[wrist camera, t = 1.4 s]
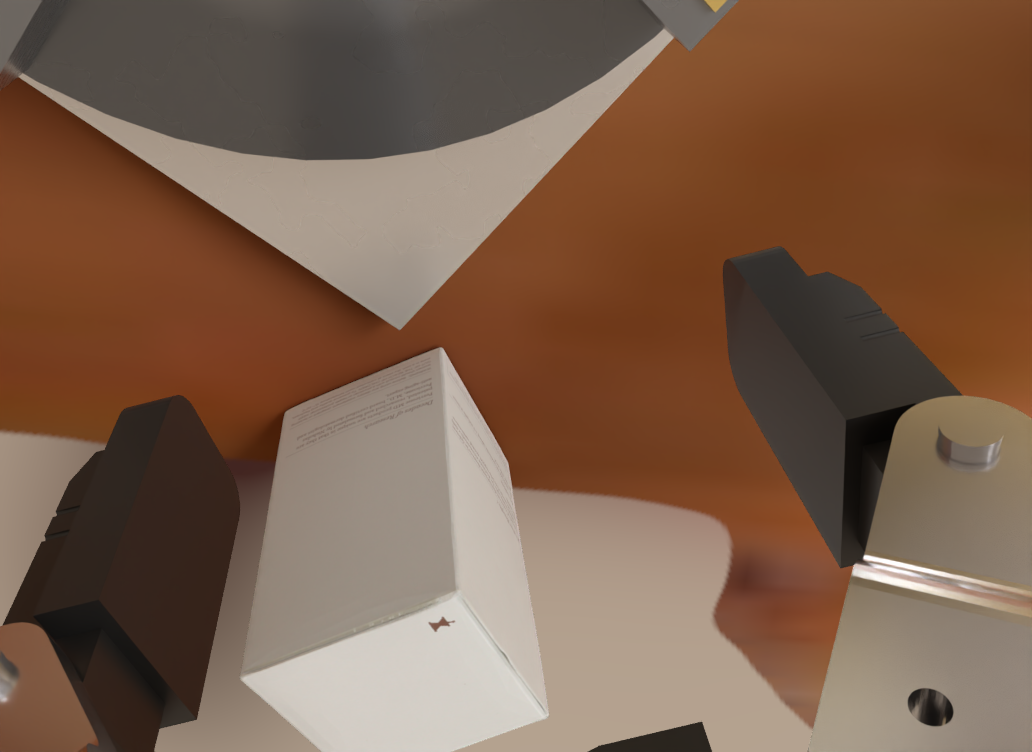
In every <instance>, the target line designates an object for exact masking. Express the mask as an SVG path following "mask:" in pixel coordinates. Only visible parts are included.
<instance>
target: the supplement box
mask: <svg viewBox="0 0 1032 752" xmlns="http://www.w3.org/2000/svg"><path fill="white" fill-rule="evenodd" d="M240 679H241V680H242V682H244V683H245V684H246V685H247V686H248V687H249V688H251V690H253V691H254V692H255V693H256V694H257V695H259V696H260V697H261V698H262V699H263V700H264V701H265V702H266V703H267V704H269V705H270V706H271V707H272V708H274V710H276V711H277V712H278V713H279V714H280V715H281V716H282V717H283V718H284V719H285V720H287V721H288V722H289V723H290V724H291V725H292V726H293V727H294V728H296V729H297V730H298V731H299V732H300V733H301V734H302V735H303V736H304V737H306V738H307V739H308V740H309V741H310V742H311V743H312V744H313V745H314V746H315V747H317V748H318V749H319V750H320V751H321V752H452V751H455V750H458V749H461V748H463V747H466V746H469V745H472V744H475V743H477V742H480V741H483V740H486V739H489V738H491V737H494V736H497V735H500V734H502V733H505V732H508V731H511V730H514V729H516V728H519V727H522V726H525V725H528V724H531V723H534V722H537V721H541V720H544V719H547V718H548V716H549V711H548V703H547V696H546V689H545V683H544V676H543V669H542V662H541V656H540V651H539V645H538V639H537V633H536V627H535V621H534V615H533V610H532V604H531V598H530V593H529V586H528V581H527V574H526V569H525V563H524V558H523V551H522V546H521V539H520V533H519V528H518V522H517V516H516V510H515V504H514V497H513V490H512V483H511V477H510V471H509V465H508V462H507V460H506V458H505V456H504V454H503V452H502V451H501V449H500V447H499V445H498V443H497V441H496V440H495V438H494V436H493V434H492V433H491V431H490V429H489V427H488V426H487V424H486V422H485V420H484V419H483V417H482V415H481V414H480V412H479V410H478V408H477V407H476V405H475V403H474V401H473V400H472V398H471V396H470V395H469V393H468V391H467V389H466V388H465V386H464V384H463V382H462V381H461V379H460V377H459V376H458V374H457V372H456V370H455V369H454V367H453V365H452V363H451V362H450V360H449V358H448V357H447V355H446V353H445V351H444V349H443V348H441V347H440V348H437V349H434V350H431V351H428V352H426V353H424V354H421V355H419V356H416V357H413V358H411V359H409V360H406V361H404V362H401V363H399V364H396V365H394V366H392V367H389V368H387V369H384V370H381V371H379V372H377V373H374V374H372V375H370V376H367V377H365V378H362V379H359V380H357V381H354V382H352V383H350V384H347V385H345V386H342V387H340V388H338V389H335V390H333V391H330V392H328V393H325V394H323V395H321V396H318V397H316V398H314V399H311V400H308V401H306V402H304V403H301V404H299V405H297V406H295V407H293V408H291V409H289V410H287V411H286V412H285V414H284V418H283V424H282V430H281V437H280V442H279V448H278V453H277V459H276V465H275V472H274V479H273V484H272V490H271V496H270V502H269V507H268V513H267V520H266V526H265V532H264V538H263V544H262V550H261V556H260V561H259V567H258V573H257V580H256V586H255V592H254V597H253V604H252V609H251V615H250V622H249V627H248V633H247V638H246V645H245V651H244V656H243V662H242V667H241V672H240Z"/></svg>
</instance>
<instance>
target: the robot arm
mask: <svg viewBox="0 0 1032 752" xmlns="http://www.w3.org/2000/svg"><path fill="white" fill-rule="evenodd" d="M723 284H724V298H725V312H726V326H727V340H728V353H729V360H730V365H731V369H732V373H733V376H734V379H735V382H736V385H737V388H738V390H739V392H740V394H741V396H742V398H743V400H744V401H745V403H746V405H747V407H748V408H749V410H750V412H751V414H752V415H753V417H754V419H755V420H756V422H757V424H758V426H759V427H760V429H761V431H762V433H763V434H764V436H765V438H766V440H767V441H768V443H769V445H770V447H771V448H772V450H773V452H774V454H775V455H776V457H777V459H778V460H779V462H780V464H781V466H782V467H783V469H784V471H785V473H786V474H787V476H788V478H789V480H790V481H791V483H792V485H793V487H794V488H795V490H796V492H797V493H798V495H799V497H800V499H801V500H802V502H803V504H804V506H805V507H806V509H807V511H808V513H809V514H810V516H811V518H812V520H813V521H814V523H815V525H816V526H817V528H818V530H819V532H820V533H821V535H822V537H823V539H824V540H825V542H826V544H827V546H828V547H829V549H830V551H831V553H832V554H833V556H834V558H835V560H836V561H837V563H838V565H839V566H840V568H844V567H848V566H852V565H855V566H854V568H853V572H852V575H851V579H850V582H849V586H848V590H847V594H846V599H845V603H844V607H843V611H842V615H841V619H840V623H839V627H838V631H837V635H836V639H835V643H834V647H833V651H832V655H831V659H830V663H829V667H828V671H827V675H826V679H825V683H824V687H823V691H822V695H821V699H820V703H819V707H818V712H817V716H816V720H815V724H814V728H813V732H812V736H811V740H810V744H809V748H808V752H1032V419H1031V418H1030V417H1028V416H1027V415H1025V414H1024V413H1022V412H1021V411H1019V410H1017V409H1015V408H1013V407H1011V406H1008V405H1006V404H1003V403H1001V402H997V401H994V400H990V399H985V398H980V397H972V396H963V395H962V394H961V393H960V392H959V391H958V390H957V389H956V388H955V387H954V386H953V384H952V383H951V382H950V381H949V380H948V379H947V378H946V377H945V376H944V375H943V374H942V373H941V372H940V371H939V370H938V369H937V367H936V366H935V365H934V364H933V363H932V362H931V361H930V360H929V359H928V358H927V357H926V356H925V355H924V354H923V353H922V352H921V350H920V349H919V348H918V347H917V346H916V345H915V344H914V343H913V342H912V341H911V340H910V339H909V338H908V337H907V336H906V335H905V333H904V332H899V327H898V326H897V325H896V324H895V323H894V322H893V321H892V320H891V319H890V318H889V316H888V315H887V314H886V313H885V314H882V310H881V308H880V307H879V306H878V305H877V304H876V303H875V302H874V301H873V299H872V298H871V297H870V296H869V295H868V294H867V293H866V292H865V291H864V290H863V289H862V288H861V287H860V286H857V285H855V284H853V283H851V282H849V281H847V280H844V279H842V278H840V277H838V276H836V275H834V274H831V273H829V272H825V273H821V274H817V275H813V276H807V275H806V274H805V272H804V271H803V270H802V269H801V268H800V266H799V265H798V264H797V263H796V262H795V261H794V259H793V258H792V257H791V256H790V255H789V254H788V252H787V251H786V250H785V249H784V248H782V247H780V246H778V247H774V248H770V249H766V250H762V251H758V252H754V253H750V254H746V255H742V256H738V257H734V258H730V259H727V260H725V262H724V265H723ZM56 513H57V516H56V517H53V518H52V520H51V523H50V525H49V527H48V529H47V531H46V533H45V538H46V541H44V542H41V544H40V546H39V548H38V550H37V553H36V555H35V557H34V559H33V561H32V563H31V566H30V568H29V570H28V572H27V574H26V576H25V578H24V581H23V583H22V585H21V587H20V589H19V591H18V594H17V596H16V598H15V600H14V602H13V604H12V607H11V608H10V611H9V613H8V615H7V617H6V619H5V622H4V623H3V626H0V752H154V748H155V744H156V740H157V736H158V732H159V729H160V728H164V727H168V726H172V725H177V724H181V723H185V722H189V721H193V720H197V716H198V711H199V707H200V702H201V697H202V692H203V687H204V683H205V678H206V673H207V668H208V664H209V659H210V653H211V649H212V645H213V640H214V635H215V630H216V626H217V621H218V616H219V611H220V606H221V601H222V597H223V592H224V587H225V583H226V578H227V573H228V568H229V563H230V559H231V554H232V549H233V545H234V540H235V535H236V530H237V525H238V521H239V515H240V501H239V495H238V490H237V486H236V483H235V480H234V477H233V475H232V473H231V471H230V469H229V468H228V466H227V464H226V463H225V461H224V459H223V457H222V456H221V454H220V452H219V450H218V449H217V447H216V445H215V444H214V442H213V440H212V438H211V437H210V435H209V433H208V432H207V430H206V428H205V426H204V425H203V423H202V421H201V419H200V418H199V416H198V414H197V413H196V411H195V409H194V407H193V406H192V404H191V403H190V402H189V401H188V400H187V399H186V398H185V397H183V396H180V395H176V396H172V397H168V398H164V399H160V400H156V401H152V402H148V403H144V404H140V405H136V406H132V407H128V408H126V409H124V410H123V411H122V412H121V414H120V416H119V418H118V420H117V423H116V425H115V427H114V429H113V432H112V434H111V436H110V439H109V441H108V443H107V446H106V448H105V450H103V451H99V452H96V453H95V454H94V455H93V456H92V457H91V458H90V459H89V461H88V462H87V463H86V464H85V465H84V466H83V467H82V468H81V469H80V471H79V472H78V473H77V474H76V475H75V476H74V477H73V478H72V480H71V481H70V482H69V484H68V486H67V488H66V490H65V492H64V495H63V497H62V499H61V501H60V503H59V506H58V507H57V510H56ZM589 752H712V750H711V747H710V744H709V741H708V739H707V735H706V732H705V730H704V726H703V724H702V722H698V723H695V724H690V725H686V726H681V727H677V728H673V729H669V730H665V731H660V732H656V733H652V734H648V735H644V736H639V737H635V738H631V739H626V740H622V741H618V742H614V743H610V744H605V745H601V746H598V747H596V748H594V749H592V750H590V751H589Z"/></svg>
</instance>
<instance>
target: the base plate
mask: <svg viewBox="0 0 1032 752" xmlns="http://www.w3.org/2000/svg"><path fill="white" fill-rule="evenodd" d="M673 38H674V37H673V36H672V35H671V34H669V33H668V32H667V31H666V30H665V29H663V30H662V31H661V32H660V33H659V34H658V35H657V36H656V37H654V38H653V39H652V40H651V41H649V42H648V43H647V44H645V45H644V46H643V47H641V48H640V49H639V50H637V51H636V52H635V53H633V54H632V55H631V56H629V57H628V58H627V59H625V60H624V61H623V62H622V63H620V64H619V65H618V66H616V67H615V68H614V69H612V70H611V71H610V72H608V73H607V74H606V75H604V76H603V77H602V78H600V79H598V80H597V81H595V82H593V83H591V84H590V85H588V86H586V87H585V88H583V89H581V90H579V91H578V92H576V93H574V94H573V95H571V96H569V97H567V98H566V99H564V100H562V101H560V102H559V103H557V104H555V105H554V106H552V107H550V108H548V109H547V110H544V111H542V112H540V113H537V114H535V115H533V116H530V117H528V118H526V119H523V120H521V121H519V122H516V123H514V124H511V125H509V126H507V127H504V128H502V129H500V130H497V131H495V132H493V133H490V134H487V135H484V136H480V137H476V138H473V139H469V140H466V141H462V142H458V143H455V144H451V145H448V146H444V147H441V148H437V149H433V150H430V151H423V152H416V153H409V154H402V155H395V156H388V157H381V158H375V159H356V160H298V159H289V158H279V157H270V156H260V155H251V154H242V153H237V152H233V151H228V150H224V149H220V148H215V147H211V146H206V145H202V144H197V143H193V142H189V141H184V140H180V139H175V138H173V137H170V136H167V135H164V134H161V133H158V132H155V131H152V130H150V129H147V128H144V127H141V126H138V125H135V124H132V123H129V122H126V121H124V120H121V119H118V118H115V117H112V116H109V115H107V114H104V113H102V112H100V111H98V110H96V109H94V108H92V107H90V106H88V105H85V104H83V103H81V102H79V101H77V100H75V99H73V98H71V97H68V96H66V95H64V94H62V93H60V92H58V91H56V90H54V89H51V88H49V87H47V86H45V85H43V84H41V83H39V82H37V81H35V80H33V79H32V78H30V77H28V76H27V75H25V74H21V75H20V76H19V78H21V79H22V80H24V81H25V82H27V83H28V84H30V85H31V86H33V87H34V88H36V89H37V90H39V91H40V92H42V93H43V94H45V95H46V96H48V97H49V98H51V99H52V100H54V101H55V102H57V103H58V104H60V105H61V106H63V107H64V108H66V109H67V110H69V111H70V112H72V113H73V114H75V115H76V116H78V117H79V118H81V119H82V120H84V121H85V122H87V123H88V124H90V125H91V126H93V127H94V128H96V129H97V130H99V131H100V132H102V133H103V134H105V135H106V136H108V137H109V138H111V139H113V140H114V141H116V142H117V143H119V144H120V145H122V146H123V147H125V148H126V149H128V150H129V151H131V152H132V153H134V154H135V155H137V156H138V157H140V158H141V159H143V160H144V161H146V162H147V163H149V164H150V165H152V166H153V167H155V168H156V169H158V170H159V171H161V172H162V173H164V174H165V175H167V176H168V177H170V178H171V179H173V180H174V181H176V182H177V183H179V184H180V185H182V186H183V187H185V188H186V189H188V190H189V191H191V192H192V193H194V194H195V195H197V196H198V197H200V198H201V199H203V200H204V201H206V202H207V203H209V204H210V205H212V206H213V207H215V208H216V209H218V210H219V211H221V212H222V213H224V214H225V215H227V216H228V217H230V218H231V219H233V220H234V221H236V222H237V223H239V224H241V225H242V226H244V227H245V228H247V229H248V230H250V231H251V232H253V233H254V234H256V235H257V236H259V237H260V238H262V239H263V240H265V241H266V242H268V243H269V244H271V245H272V246H274V247H275V248H277V249H278V250H280V251H281V252H283V253H284V254H286V255H287V256H289V257H290V258H292V259H293V260H295V261H296V262H298V263H299V264H301V265H302V266H304V267H305V268H307V269H308V270H310V271H311V272H313V273H314V274H316V275H317V276H319V277H320V278H322V279H323V280H325V281H326V282H328V283H329V284H331V285H332V286H334V287H335V288H337V289H338V290H340V291H341V292H343V293H344V294H346V295H347V296H349V297H350V298H352V299H353V300H355V301H356V302H358V303H359V304H361V305H362V306H364V307H365V308H367V309H369V310H370V311H372V312H373V313H375V314H376V315H378V316H379V317H381V318H382V319H384V320H385V321H387V322H388V323H390V324H391V325H393V326H394V327H396V328H397V329H399V330H401V329H402V328H403V326H404V325H405V324H406V323H407V322H408V321H409V320H410V319H411V318H412V317H413V316H414V315H415V314H416V313H417V311H418V310H419V309H420V308H421V307H422V306H423V305H424V304H425V303H426V302H427V301H428V300H429V299H430V298H431V297H432V295H433V294H434V293H435V292H436V291H437V290H438V289H439V288H440V287H441V286H442V285H443V284H444V283H445V282H446V281H447V279H448V278H449V277H450V276H451V275H452V274H453V273H454V272H455V271H456V270H457V269H458V268H459V267H460V266H461V265H462V263H463V262H464V261H465V260H466V259H467V258H468V257H469V256H470V255H471V254H472V253H473V252H474V251H475V250H476V248H477V247H478V246H479V245H480V244H481V243H482V242H483V241H484V240H485V239H486V238H487V237H488V236H489V235H490V234H491V232H492V231H493V230H494V229H495V228H496V227H497V226H498V225H499V224H500V223H501V222H502V221H503V220H504V219H505V218H506V216H507V215H508V214H509V213H510V212H511V211H512V210H513V209H514V208H515V207H516V206H517V205H518V204H519V203H520V202H521V200H522V199H523V198H524V197H525V196H526V195H527V194H528V193H529V192H530V191H531V190H532V189H533V188H534V187H535V185H536V184H537V183H538V182H539V181H540V180H541V179H542V178H543V177H544V176H545V175H546V174H547V173H548V172H549V171H550V169H551V168H552V167H553V166H554V165H555V164H556V163H557V162H558V161H559V160H560V159H561V158H562V157H563V156H564V155H565V153H566V152H567V151H568V150H569V149H570V148H571V147H572V146H573V145H574V144H575V143H576V142H577V141H578V140H579V139H580V137H581V136H582V135H583V134H584V133H585V132H586V131H587V130H588V129H589V128H590V127H591V126H592V125H593V124H594V122H595V121H596V120H597V119H598V118H599V117H600V116H601V115H602V114H603V113H604V112H605V111H606V110H607V109H608V108H609V106H610V105H611V104H612V103H613V102H614V101H615V100H616V99H617V98H618V97H619V96H620V95H621V94H622V93H623V92H624V90H625V89H626V88H627V87H628V86H629V85H630V84H631V83H632V82H633V81H634V80H635V79H636V78H637V77H638V76H639V74H640V73H641V72H642V71H643V70H644V69H645V68H646V67H647V66H648V65H649V64H650V63H651V62H652V61H653V59H654V58H655V57H656V56H657V55H658V54H659V53H660V52H661V51H662V50H663V49H664V48H665V47H666V46H667V45H668V43H669V42H670V41H671V40H672V39H673Z"/></svg>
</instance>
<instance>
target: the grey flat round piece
mask: <svg viewBox="0 0 1032 752" xmlns="http://www.w3.org/2000/svg"><path fill="white" fill-rule="evenodd" d="M737 2H738V0H0V90H2V89H3V88H4V87H6V86H7V85H8V84H9V83H11V82H12V81H13V80H15V79H16V78H17V77H19V76H20V75H21V74H25V75H27V76H28V77H30V78H32V79H33V80H35V81H37V82H39V83H41V84H43V85H45V86H47V87H49V88H51V89H54V90H56V91H58V92H60V93H62V94H64V95H66V96H68V97H71V98H73V99H75V100H77V101H79V102H81V103H83V104H85V105H88V106H90V107H92V108H94V109H96V110H98V111H100V112H102V113H104V114H107V115H109V116H112V117H115V118H118V119H121V120H124V121H126V122H129V123H132V124H135V125H138V126H141V127H144V128H147V129H150V130H152V131H155V132H158V133H161V134H164V135H167V136H170V137H173V138H175V139H180V140H184V141H189V142H193V143H197V144H202V145H206V146H211V147H215V148H220V149H224V150H228V151H233V152H237V153H242V154H251V155H260V156H270V157H279V158H289V159H298V160H356V159H375V158H381V157H388V156H395V155H402V154H409V153H416V152H423V151H430V150H433V149H437V148H441V147H444V146H448V145H451V144H455V143H458V142H462V141H466V140H469V139H473V138H476V137H480V136H484V135H487V134H490V133H493V132H495V131H497V130H500V129H502V128H504V127H507V126H509V125H511V124H514V123H516V122H519V121H521V120H523V119H526V118H528V117H530V116H533V115H535V114H537V113H540V112H542V111H544V110H547V109H548V108H550V107H552V106H554V105H555V104H557V103H559V102H560V101H562V100H564V99H566V98H567V97H569V96H571V95H573V94H574V93H576V92H578V91H579V90H581V89H583V88H585V87H586V86H588V85H590V84H591V83H593V82H595V81H597V80H598V79H600V78H602V77H603V76H604V75H606V74H607V73H608V72H610V71H611V70H612V69H614V68H615V67H616V66H618V65H619V64H620V63H622V62H623V61H624V60H625V59H627V58H628V57H629V56H631V55H632V54H633V53H635V52H636V51H637V50H639V49H640V48H641V47H643V46H644V45H645V44H647V43H648V42H649V41H651V40H652V39H653V38H654V37H656V36H657V35H658V34H659V33H660V32H661V31H662V30H663V29H665V30H666V31H667V32H668V33H669V34H671V35H672V36H673V37H674V38H675V39H676V40H677V41H678V42H679V43H681V44H682V45H683V46H684V47H685V48H686V49H687V50H688V51H691V50H692V49H693V48H694V47H695V46H696V45H697V44H698V42H699V41H700V40H701V39H702V38H703V37H704V36H705V35H706V34H707V33H708V32H709V31H710V30H711V29H712V28H713V27H714V26H715V25H716V24H717V23H718V21H719V20H720V19H721V18H722V17H723V16H724V15H725V14H726V13H727V12H728V11H729V10H730V9H731V8H732V7H733V6H734V5H735V4H736V3H737Z"/></svg>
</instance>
